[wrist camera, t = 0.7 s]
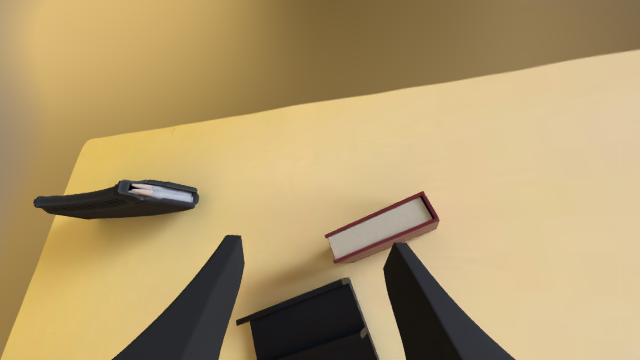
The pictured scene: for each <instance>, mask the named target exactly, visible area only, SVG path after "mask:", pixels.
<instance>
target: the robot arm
mask: <svg viewBox="0 0 640 360" xmlns="http://www.w3.org/2000/svg"><path fill="white" fill-rule="evenodd" d="M244 264H245V263H244V255H243V247H242V239H241V236H239V235H227V236H225V238H224V239H223V241H222V242H221V243H220V245H219V246H218V248H217V249H216V250H215V252H214V253H213V254H212V256H211V257H210V258H209V260H208V261H207V262H206V264H205V265H204V266H203V267H202V269H201V270H200V271H199V272H198V274H197V275H196V276H195V277H194V278H193V280H192V281H191V282H190V283H189V284H188V285H187V287H186V288H185V289H184V290H183V291H182V292H181V293H180V294H179V296H178V297H177V298H176V299H175V300H174V301H173V302H172V303H171V304H170V305H169V306H168V307H167V308H166V309H165V311H164V312H163V313H162V314H161V315H160V316H159V317H158V318H157V319H156V320H155V321H154V322H153V323H152V324H150V325H149V326H148V327H147V328H146V329H145V330H144V331H143V332H142V333H141V334H140V335H139V336H138V337H137V338H136V339H135V340H133V341H132V342H131V343H130V344H129V345H128V346H127V347H126V348H125V349H124V350H122V351H121V352H120V353H119V354H118V355H117V356H115V357H114V358H113V359H112V360H218V359H219V355H220V350H221V346H222V343H223V339H224V336H225V333H226V329H227V326H228V323H229V320H230V317H231V314H232V310H233V307H234V304H235V301H236V298H237V294H238V291H239V288H240V284H241V279H242V274H243V269H244ZM383 270H384V276H385V282H386V287H387V292H388V295H389V299H390V302H391V306H392V309H393V312H394V316H395V319H396V323H397V326H398V329H399V333H400V336H401V339H402V343H403V347H404V351H405V356H406V360H515V359H514V358H513V357H512V356H511V355H509V354H508V353H507V352H506V351H505V350H504V349H503V348H502V347H500V346H499V345H498V344H497V343H496V342H495V341H494V340H493V339H491V338H490V337H489V336H488V335H487V334H486V333H485V332H484V331H483V330H482V329H481V328H480V327H479V326H478V325H477V324H476V323H475V322H474V321H473V320H472V319H471V318H470V317H469V316H468V315H467V314H466V313H465V312H464V311H463V310H462V309H461V308H460V307H459V306H458V305H457V304H456V303H455V302H454V300H453V299H452V298H451V297H450V296H449V295H448V294H447V293H446V291H445V290H444V289H443V288H442V287H441V286H440V284H439V283H438V282H437V281H436V280H435V278H434V277H433V276H432V275H431V274H430V272H429V271H428V270H427V269H426V267H425V266H424V265H423V264H422V262H421V261H420V260H419V259H418V257H417V256H416V255H415V253H414V252H413V251H412V250H411V248H410V247H409V246H408V245H407V243H396V242H394V243H393V246H392V248H391V251H390V253H389V256H388V258H387V261H386V263H385V265H384V268H383Z"/></svg>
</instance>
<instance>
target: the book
mask: <svg viewBox="0 0 640 360" xmlns="http://www.w3.org/2000/svg"><path fill="white" fill-rule="evenodd" d="M439 221H440V219H439V217H438V216H437V214H436V212H435V211H434V209H433V207H432V205H431V204H430V202H429V200H428V198H427V197H426V195H425V193H424V191H422V192H420V193H418V194H415V195H413V196H411V197H409V198H406V199H404V200H402V201H400V202H397V203H395V204H393V205H391V206H389V207H386V208H384V209H382V210H380V211H377V212H375V213H373V214H371V215H368V216H366V217H364V218H362V219H360V220H357V221H355V222H353V223H351V224H348V225H346V226H344V227H342V228H339V229H337V230H335V231H333V232H331V233H328V234H326V235H325V238H328V240H329V243H330V246H331V248H332V251H333V254H334V257H335V259H336V260H334V263H353V262H355V261H358V260H360V259H363V258H365V257H368V256H370V255H373V254H375V253H378V252H380V251H383V250H385V249H388V248H390V247H392V246H393V243H394V242H396V243H402V242H405V241H407V240H410V239H412V238H415V237H417V236H420V235H422V234H424V233H427V232H429V231H432V230H434V229H436V228H437V226H438V223H439Z"/></svg>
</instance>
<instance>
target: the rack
mask: <svg viewBox="0 0 640 360" xmlns="http://www.w3.org/2000/svg"><path fill="white" fill-rule="evenodd" d="M249 321H250V325H251V330H252V336H253V341H254V346H255V352H256V357H257V360H379V358H378V355H377V352H376V349H375V347H374V344H373V341H372V339H371V336H370V333H369V330H368V328H367V325H366V322H365V319H364V317H363V314H362V311H361V309H360V306H359V303H358V300H357V298H356V295H355V292H354V290H353V287H352V284H351V281H350V279H349V277H348V278H344V279H340V280H337V281H335V282H332V283H330V284H327V285H325V286H322V287H320V288H317V289H315V290H312V291H309V292H307V293H304V294H302V295H299V296H297V297H294V298H292V299H289V300H287V301H284V302H282V303H279V304H276V305H274V306H271V307H269V308H266V309H264V310H261V311H259V312H256V313H254V314H251V315H248V316H246V317H243V318H241V319H238V320H236V324H237V326H238V325H241V324H244V323H247V322H249Z"/></svg>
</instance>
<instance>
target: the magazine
mask: <svg viewBox="0 0 640 360" xmlns="http://www.w3.org/2000/svg"><path fill="white" fill-rule="evenodd" d="M198 199H199V195H198V194H197V189H196V188H194V187H189V186H185V185H180V184H176V183H171V182H162V181H156V180H142V181H129V180H122V181H119V183H118V184H116V185H115V186H114V187H111V188H108V189H104V190H99V191H95V192H89V193H81V194H74V195H65V196H49V197H44V196H39V197H37V198H36V199H35V200H34V202H33V203H35V204H34V206H35V207H37V208H42V209H43V210H44V211H46V212H47V213H50V214H55V215H62V216H68V217H75V218H82V219H100V218H123V217H139V216H150V215H159V214H166V213H172V212H178V211H185V210H189V209H193V208H194V207H195V205H196V204H197V203H198Z"/></svg>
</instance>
